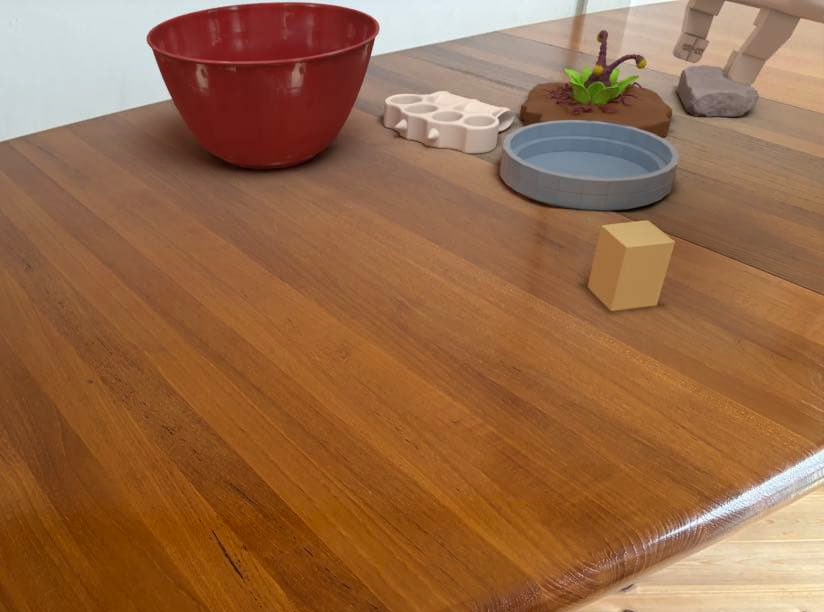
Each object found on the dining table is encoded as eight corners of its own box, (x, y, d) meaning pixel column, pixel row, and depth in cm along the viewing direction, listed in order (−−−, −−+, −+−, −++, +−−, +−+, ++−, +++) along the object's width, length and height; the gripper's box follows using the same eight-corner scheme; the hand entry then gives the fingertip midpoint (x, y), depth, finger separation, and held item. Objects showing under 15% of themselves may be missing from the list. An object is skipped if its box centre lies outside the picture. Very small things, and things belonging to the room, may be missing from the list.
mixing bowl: (203, 211, 95) (190, 72, 85) (135, 135, 116) (119, 16, 106) (414, 167, 103) (423, 36, 94) (315, 104, 124) (315, -8, 115)
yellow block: (630, 288, 78) (647, 219, 74) (655, 312, 74) (675, 241, 70) (585, 293, 77) (601, 224, 73) (609, 317, 74) (626, 247, 70)
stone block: (734, 104, 124) (669, 88, 124) (752, 72, 121) (684, 56, 121) (752, 134, 115) (681, 117, 115) (771, 101, 112) (698, 83, 112)
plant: (653, 98, 122) (673, 17, 115) (680, 145, 107) (704, 54, 100) (515, 95, 125) (526, 15, 118) (522, 140, 110) (535, 52, 103)
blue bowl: (656, 154, 104) (664, 123, 102) (683, 220, 89) (694, 185, 87) (498, 147, 108) (503, 117, 105) (499, 209, 93) (504, 175, 90)
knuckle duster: (531, 134, 111) (462, 163, 104) (430, 105, 122) (361, 129, 115) (535, 109, 109) (465, 137, 102) (432, 82, 120) (362, 104, 113)
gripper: (967, -140, 45) (818, 112, 52) (788, -127, 63) (694, 60, 70) (865, -176, 44) (728, 84, 52) (712, -153, 62) (626, 39, 69)
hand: (707, 70), depth 61 cm, fingers open, 8 cm apart
